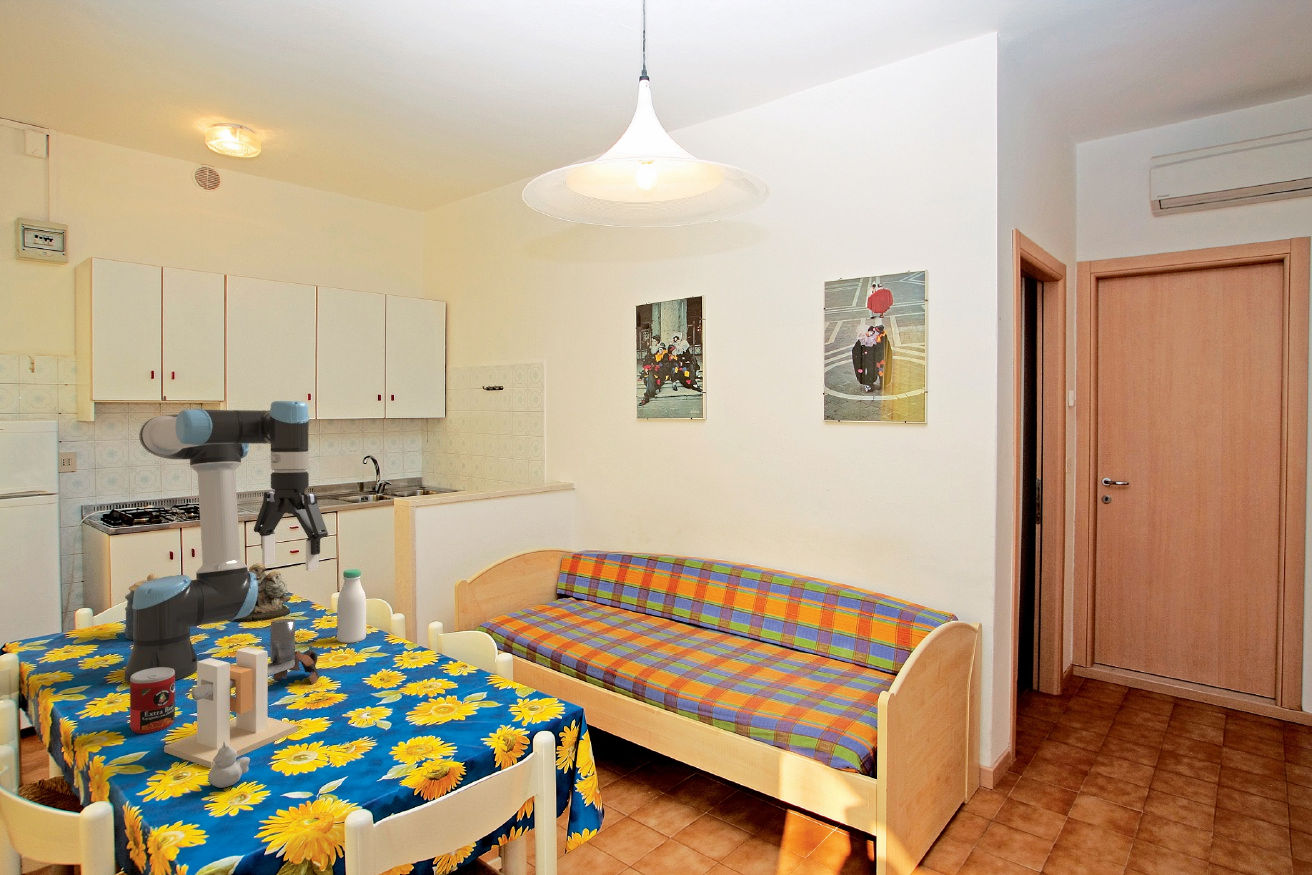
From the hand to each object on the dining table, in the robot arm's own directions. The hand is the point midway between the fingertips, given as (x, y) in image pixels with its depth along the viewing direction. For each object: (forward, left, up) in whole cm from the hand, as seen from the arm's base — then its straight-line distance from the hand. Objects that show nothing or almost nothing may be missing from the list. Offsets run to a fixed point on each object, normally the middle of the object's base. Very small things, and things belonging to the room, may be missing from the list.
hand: (290, 567), depth 162 cm
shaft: (+6, -14, -20) cm, 25 cm away
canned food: (-15, -20, -31) cm, 40 cm away
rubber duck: (+21, -28, -31) cm, 47 cm away
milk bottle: (-26, +41, -31) cm, 58 cm away
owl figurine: (-70, +44, -31) cm, 89 cm away
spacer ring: (+6, -17, -24) cm, 30 cm away
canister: (-79, +17, -31) cm, 87 cm away
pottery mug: (-12, +12, -31) cm, 36 cm away
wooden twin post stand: (+6, -17, -31) cm, 36 cm away
